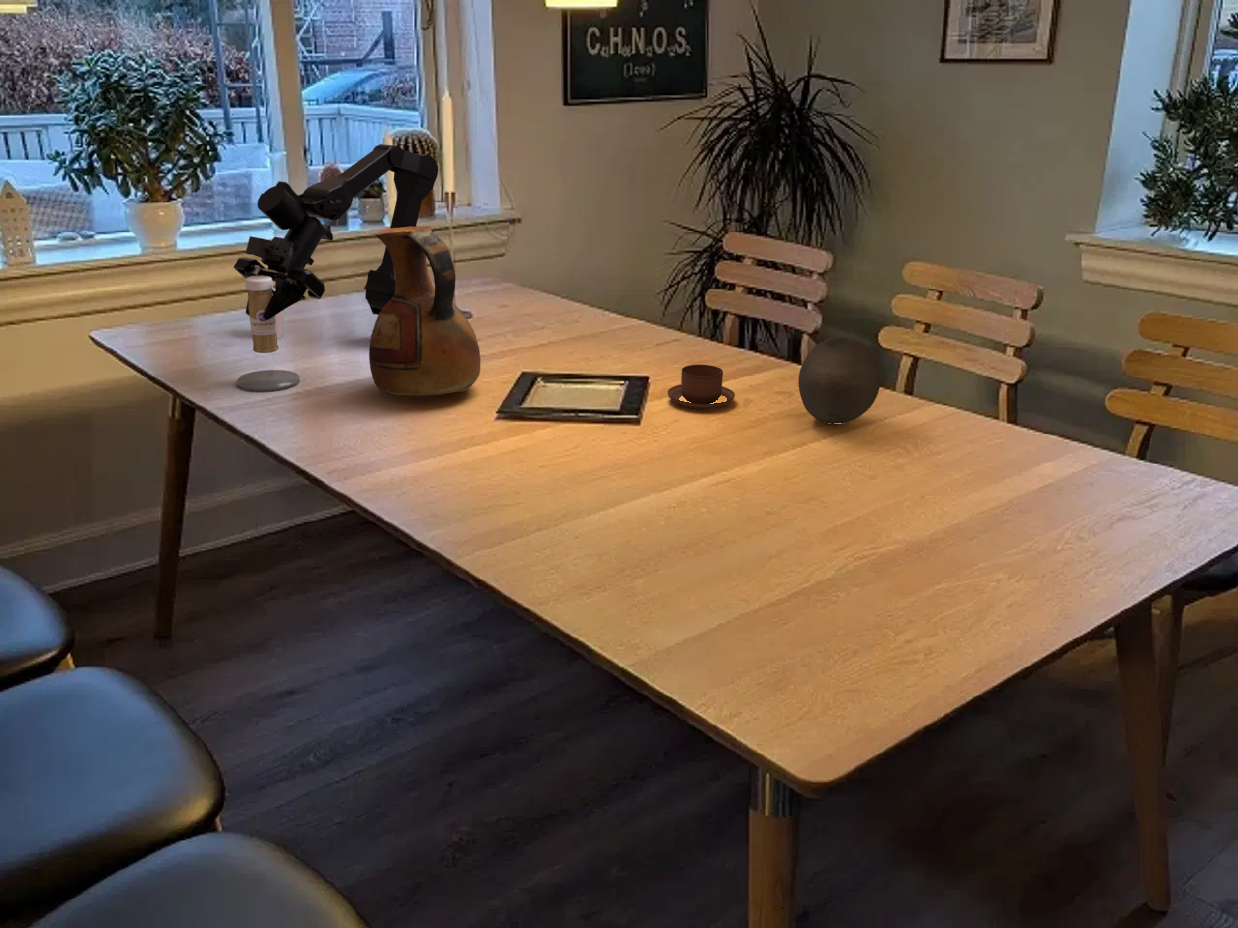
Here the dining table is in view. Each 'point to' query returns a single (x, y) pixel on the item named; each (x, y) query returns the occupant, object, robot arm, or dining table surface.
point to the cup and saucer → (701, 387)
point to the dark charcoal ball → (839, 380)
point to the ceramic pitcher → (422, 322)
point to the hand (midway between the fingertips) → (256, 316)
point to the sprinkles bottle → (261, 314)
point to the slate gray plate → (268, 380)
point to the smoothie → (279, 322)
